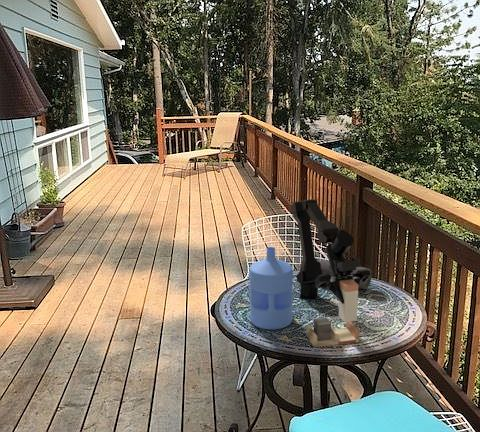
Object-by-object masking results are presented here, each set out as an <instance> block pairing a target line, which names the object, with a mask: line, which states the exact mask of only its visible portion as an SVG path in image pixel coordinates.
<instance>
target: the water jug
mask: <svg viewBox="0 0 480 432" xmlns="http://www.w3.org/2000/svg"><path fill="white" fill-rule="evenodd" d="M265 250H266V253H265V255H266V258H264V259H262V260H258V261H256V262H253V263H252V264H251V265H250V266H249V275H248V276H249V277H248V278H249V279H248V280H249V302H250V303H249V306H250V307H249V308H250V311H249V319H250V322H251V324H252V325H254V326H255V327H257V328H259V329H263V330H269V331H272V330H274V331H275V330H279V329H284V328H286V327H288V326H289V325H290V324H291V323H292V321H293V320H294V319H293V317H294V314H293V299H294V298H293V297H294V294H293V279H294V272H293V266H292V265H291V264H290V263H289V262H287V261H285V260H280V259H278V258H276V248H275V247H273V246H268V247H266V249H265Z"/></svg>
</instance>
